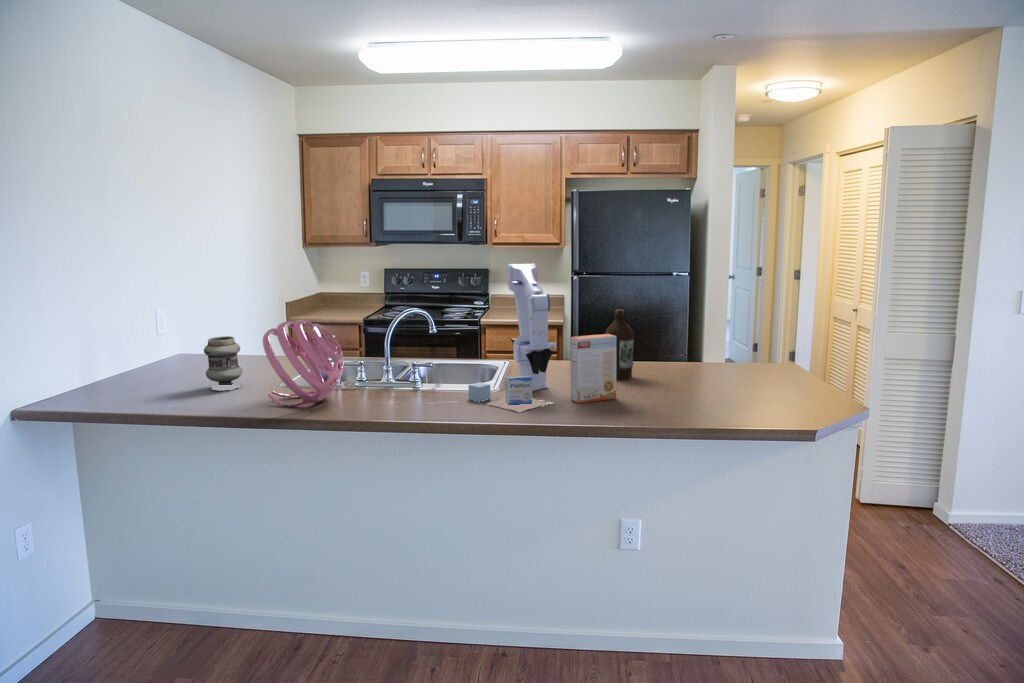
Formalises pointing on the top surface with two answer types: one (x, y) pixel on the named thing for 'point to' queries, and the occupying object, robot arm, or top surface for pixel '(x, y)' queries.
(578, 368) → the cracker box
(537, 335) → the robot arm
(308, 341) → the spiral basket
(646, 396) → the top surface
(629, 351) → the olive oil
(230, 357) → the apothecary jar
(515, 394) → the medicine box
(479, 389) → the blue cube
